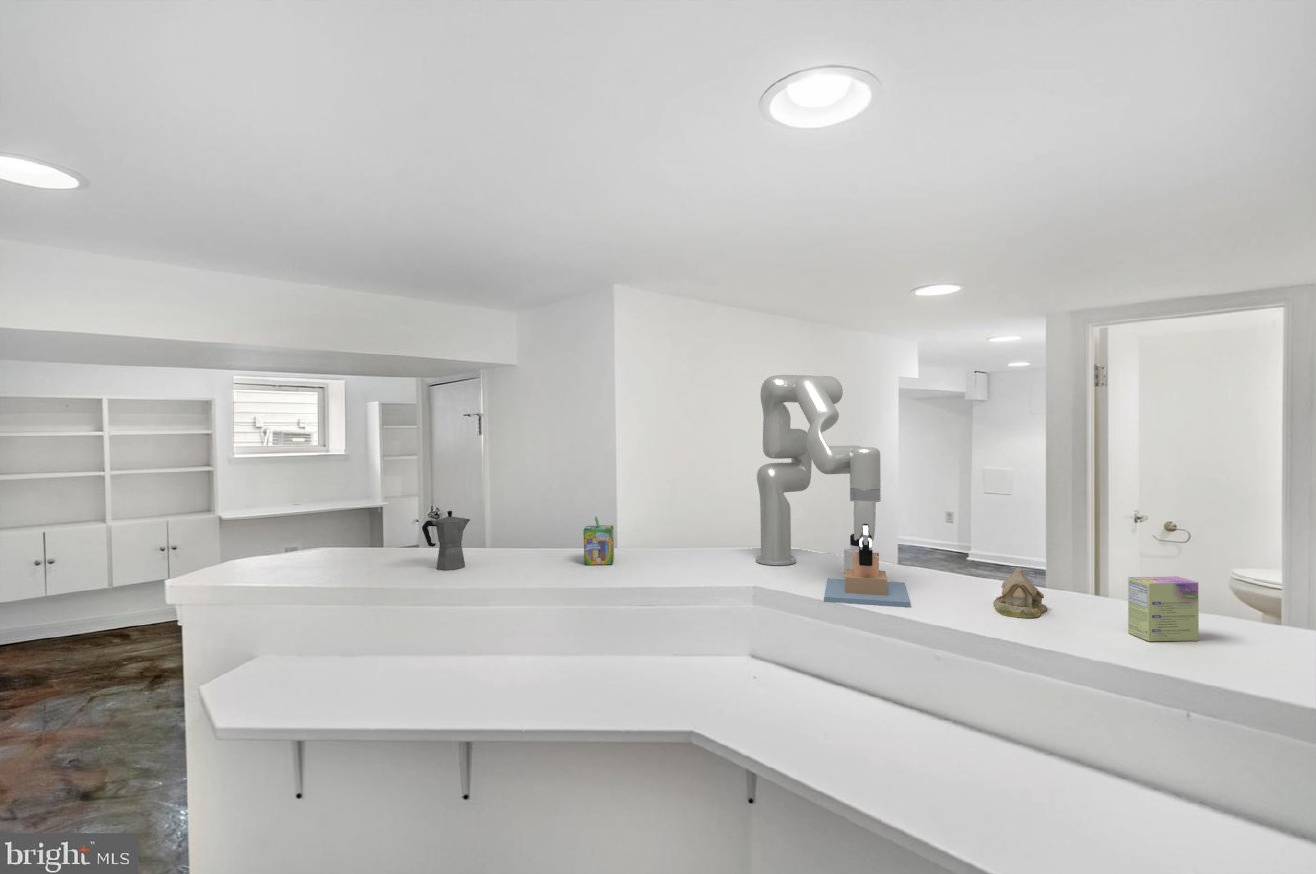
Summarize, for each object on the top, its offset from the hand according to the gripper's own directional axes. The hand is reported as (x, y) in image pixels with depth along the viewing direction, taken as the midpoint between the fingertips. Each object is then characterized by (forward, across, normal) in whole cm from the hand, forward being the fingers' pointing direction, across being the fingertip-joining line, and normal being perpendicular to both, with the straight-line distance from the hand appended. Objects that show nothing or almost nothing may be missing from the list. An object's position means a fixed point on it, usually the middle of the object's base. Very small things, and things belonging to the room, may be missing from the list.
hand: (865, 561), depth 167 cm
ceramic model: (+9, +6, +34) cm, 36 cm away
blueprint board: (+8, 0, 0) cm, 8 cm away
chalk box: (+9, -20, -82) cm, 85 cm away
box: (+8, +20, +57) cm, 61 cm away
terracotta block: (+3, 0, 0) cm, 3 cm away
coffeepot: (+9, -1, -126) cm, 126 cm away
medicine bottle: (+9, -22, -1) cm, 24 cm away
